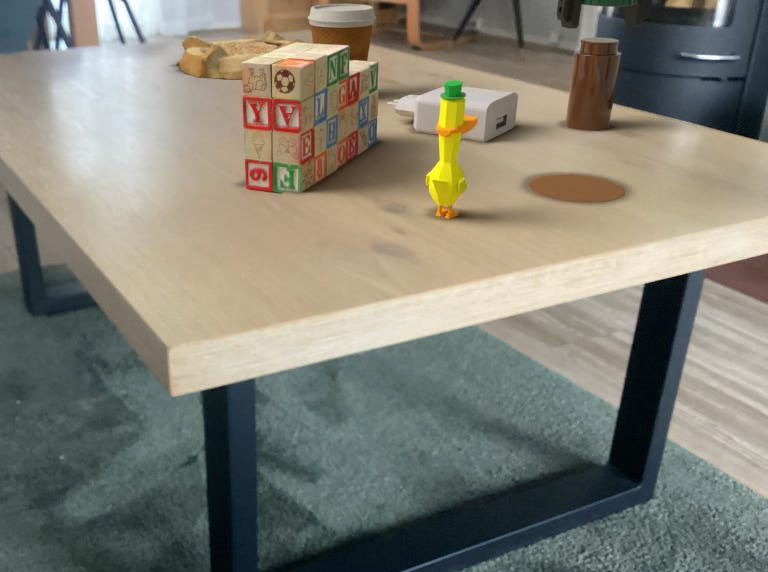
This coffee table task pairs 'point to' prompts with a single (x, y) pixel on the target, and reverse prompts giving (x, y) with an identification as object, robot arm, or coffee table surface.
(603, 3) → the lid
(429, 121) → the charger
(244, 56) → the tan flat lumpy slab
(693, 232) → the coffee table surface
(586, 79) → the jar
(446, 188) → the toy figure
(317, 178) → the stack of blocks
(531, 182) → the coaster
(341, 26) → the disposable coffee cup
